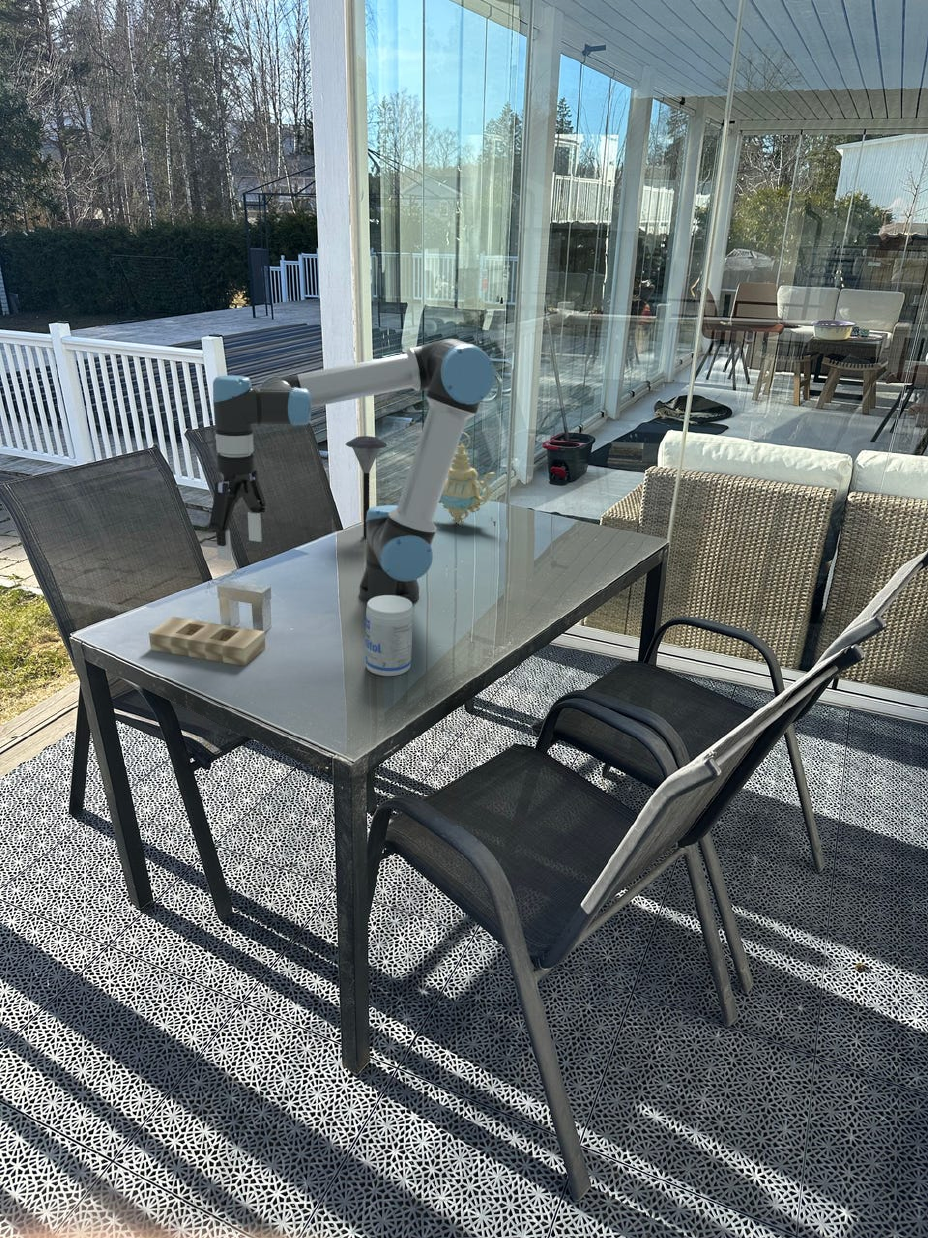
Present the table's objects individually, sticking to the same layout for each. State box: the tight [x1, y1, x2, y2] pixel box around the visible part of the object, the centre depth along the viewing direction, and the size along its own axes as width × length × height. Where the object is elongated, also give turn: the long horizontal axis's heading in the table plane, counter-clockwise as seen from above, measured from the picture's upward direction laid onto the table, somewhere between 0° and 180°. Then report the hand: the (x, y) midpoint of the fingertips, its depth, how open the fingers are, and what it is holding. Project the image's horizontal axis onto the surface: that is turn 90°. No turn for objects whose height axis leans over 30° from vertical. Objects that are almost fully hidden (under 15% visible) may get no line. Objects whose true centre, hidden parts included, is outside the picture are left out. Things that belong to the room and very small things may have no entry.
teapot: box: [438, 431, 496, 525], centre depth 260 cm, size 24×12×30 cm, turn 60°
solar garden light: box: [345, 435, 388, 538], centre depth 244 cm, size 12×12×30 cm
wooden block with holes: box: [148, 616, 266, 667], centre depth 175 cm, size 22×9×4 cm, turn 76°
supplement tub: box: [364, 595, 414, 677], centre depth 169 cm, size 10×10×15 cm
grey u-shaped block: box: [216, 579, 273, 633], centre depth 185 cm, size 11×4×10 cm, turn 76°
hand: (240, 549), depth 179 cm, fingers open, 13 cm apart
